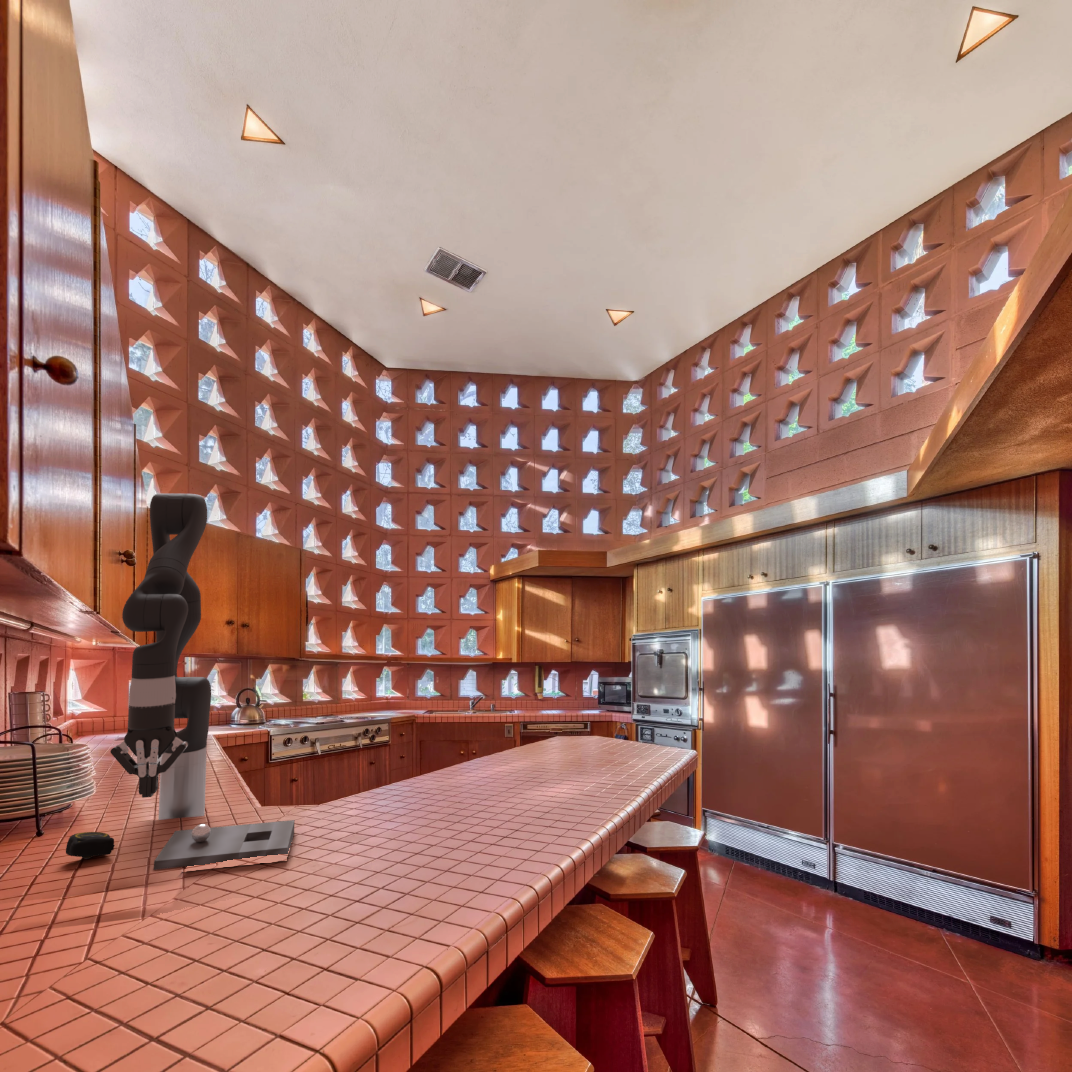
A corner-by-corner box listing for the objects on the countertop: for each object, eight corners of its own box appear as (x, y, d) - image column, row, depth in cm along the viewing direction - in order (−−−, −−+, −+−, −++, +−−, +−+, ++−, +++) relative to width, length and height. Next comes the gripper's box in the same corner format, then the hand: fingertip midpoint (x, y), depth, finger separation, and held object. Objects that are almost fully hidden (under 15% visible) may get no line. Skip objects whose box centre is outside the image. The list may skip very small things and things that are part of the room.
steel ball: (190, 840, 123) (190, 823, 123) (208, 836, 125) (209, 819, 125) (192, 846, 120) (193, 828, 120) (211, 842, 122) (212, 825, 122)
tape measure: (68, 862, 116) (73, 839, 117) (60, 854, 121) (65, 832, 122) (111, 859, 121) (116, 837, 122) (102, 851, 126) (107, 830, 127)
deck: (153, 875, 114) (154, 861, 114) (174, 843, 128) (175, 830, 128) (287, 861, 120) (287, 847, 120) (294, 832, 133) (294, 819, 134)
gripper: (104, 706, 116) (99, 806, 115) (186, 703, 120) (182, 799, 119) (119, 699, 124) (114, 792, 122) (196, 696, 127) (192, 787, 126)
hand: (148, 796), depth 121 cm, fingers closed
